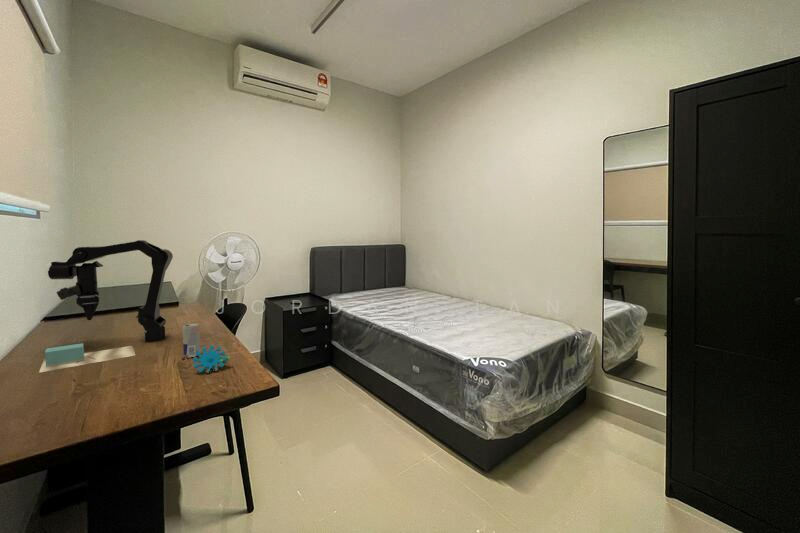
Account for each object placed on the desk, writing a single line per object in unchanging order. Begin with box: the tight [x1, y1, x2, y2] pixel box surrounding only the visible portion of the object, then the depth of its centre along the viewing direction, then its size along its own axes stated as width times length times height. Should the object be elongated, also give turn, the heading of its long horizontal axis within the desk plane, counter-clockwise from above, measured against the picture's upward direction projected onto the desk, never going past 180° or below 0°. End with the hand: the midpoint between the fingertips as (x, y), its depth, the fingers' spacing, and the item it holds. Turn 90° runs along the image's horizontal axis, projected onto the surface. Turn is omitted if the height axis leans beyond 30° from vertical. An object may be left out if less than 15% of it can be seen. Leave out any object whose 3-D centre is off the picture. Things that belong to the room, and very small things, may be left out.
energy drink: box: [182, 322, 201, 359], centre depth 124 cm, size 5×5×12 cm
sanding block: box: [44, 342, 85, 367], centre depth 113 cm, size 9×5×5 cm, turn 132°
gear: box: [192, 344, 231, 373], centre depth 113 cm, size 11×6×10 cm
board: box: [38, 345, 136, 373], centre depth 118 cm, size 24×14×1 cm, turn 133°
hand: (89, 317), depth 131 cm, fingers open, 9 cm apart
